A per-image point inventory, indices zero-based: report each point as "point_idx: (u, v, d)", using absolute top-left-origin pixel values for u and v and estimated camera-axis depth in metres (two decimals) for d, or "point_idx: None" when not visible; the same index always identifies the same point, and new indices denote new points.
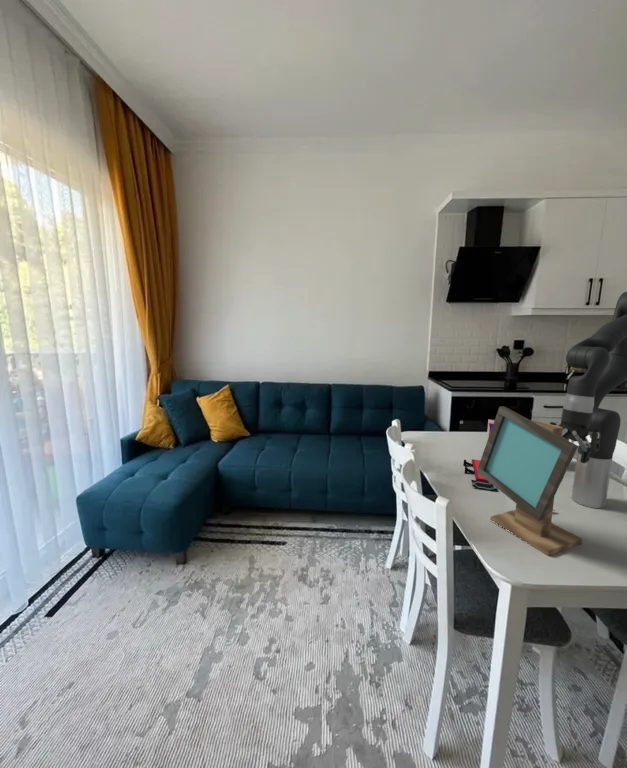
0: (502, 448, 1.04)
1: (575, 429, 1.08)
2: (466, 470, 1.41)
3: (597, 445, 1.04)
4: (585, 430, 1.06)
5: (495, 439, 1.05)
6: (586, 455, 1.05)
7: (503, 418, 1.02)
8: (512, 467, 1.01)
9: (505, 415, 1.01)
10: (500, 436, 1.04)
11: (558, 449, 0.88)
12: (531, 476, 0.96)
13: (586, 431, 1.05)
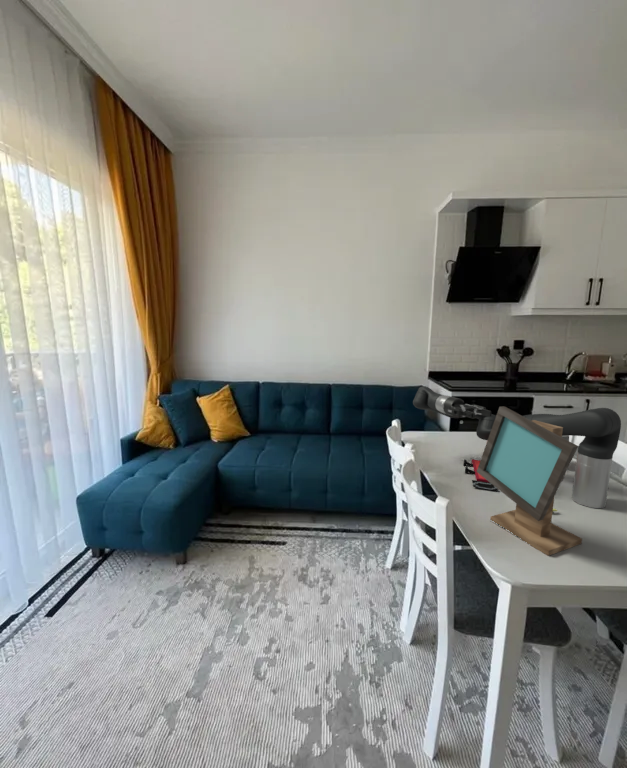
0: (502, 448, 1.04)
1: (463, 405, 1.35)
2: (466, 470, 1.41)
3: None
4: None
5: (495, 439, 1.05)
6: None
7: (503, 418, 1.02)
8: (512, 467, 1.01)
9: (505, 415, 1.01)
10: (500, 436, 1.04)
11: (558, 449, 0.88)
12: (531, 476, 0.96)
13: None
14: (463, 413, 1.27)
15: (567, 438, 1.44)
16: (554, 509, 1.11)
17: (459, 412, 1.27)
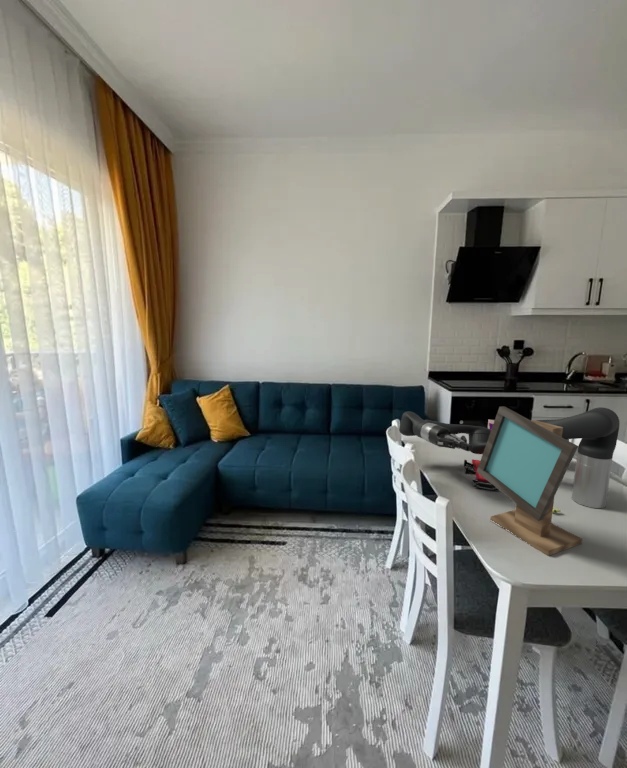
0: (502, 448, 1.04)
1: (449, 435, 1.27)
2: (467, 470, 1.41)
3: None
4: (455, 435, 1.28)
5: (495, 439, 1.05)
6: None
7: (503, 418, 1.02)
8: (512, 467, 1.01)
9: (505, 415, 1.01)
10: (500, 436, 1.04)
11: (558, 449, 0.88)
12: (531, 476, 0.96)
13: (456, 436, 1.28)
14: (458, 445, 1.20)
15: None
16: (557, 509, 1.11)
17: (453, 444, 1.20)
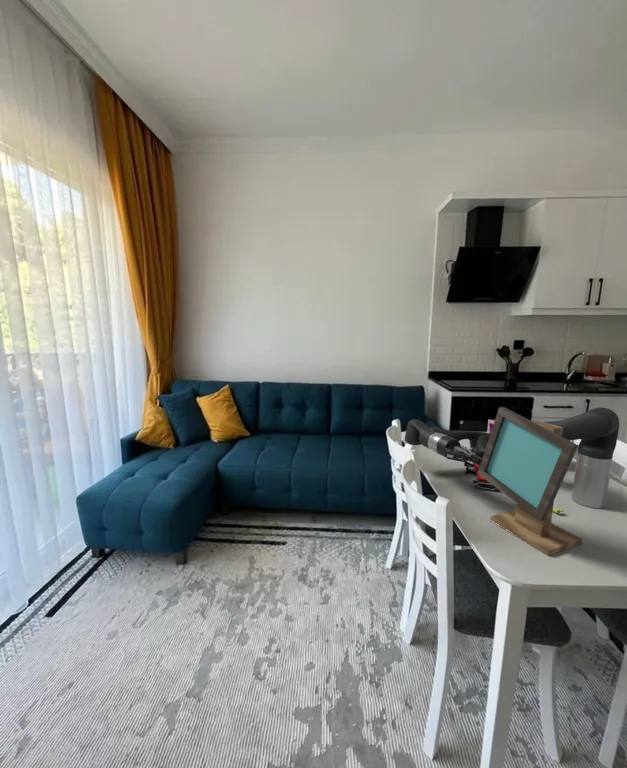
0: (503, 449, 1.03)
1: (459, 447, 1.21)
2: (467, 470, 1.41)
3: None
4: (465, 447, 1.22)
5: (495, 440, 1.05)
6: None
7: (503, 419, 1.02)
8: (513, 467, 1.01)
9: (505, 416, 1.01)
10: (500, 436, 1.04)
11: (558, 449, 0.88)
12: (532, 476, 0.95)
13: (466, 447, 1.21)
14: (469, 458, 1.13)
15: None
16: (560, 510, 1.11)
17: (464, 457, 1.13)
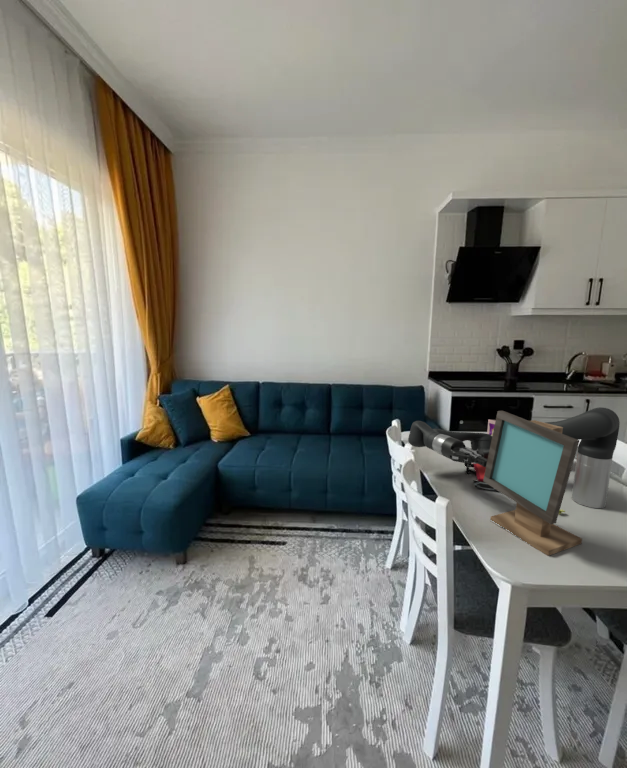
0: (506, 453, 1.03)
1: (464, 449, 1.19)
2: (468, 470, 1.41)
3: None
4: (470, 448, 1.20)
5: (497, 445, 1.04)
6: None
7: (503, 422, 1.02)
8: (518, 471, 0.99)
9: (504, 419, 1.01)
10: (502, 441, 1.04)
11: (560, 446, 0.88)
12: (537, 478, 0.94)
13: (471, 449, 1.19)
14: (474, 460, 1.11)
15: None
16: (562, 510, 1.11)
17: (470, 459, 1.12)
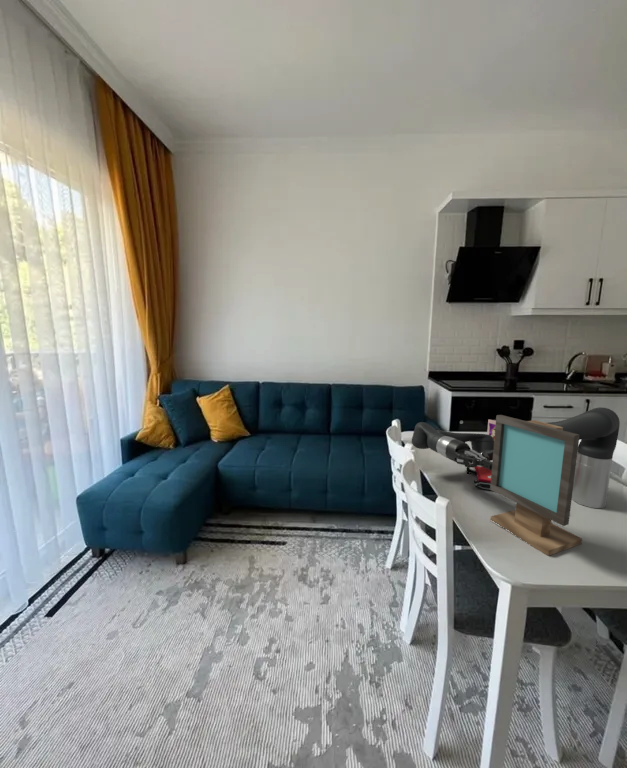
0: (509, 457, 1.02)
1: (469, 451, 1.17)
2: (468, 471, 1.41)
3: None
4: (475, 451, 1.18)
5: (500, 449, 1.04)
6: None
7: (503, 426, 1.02)
8: (523, 474, 0.98)
9: (503, 422, 1.01)
10: (504, 445, 1.03)
11: (562, 442, 0.87)
12: (543, 479, 0.92)
13: (476, 451, 1.17)
14: (480, 463, 1.09)
15: None
16: None
17: (475, 461, 1.10)
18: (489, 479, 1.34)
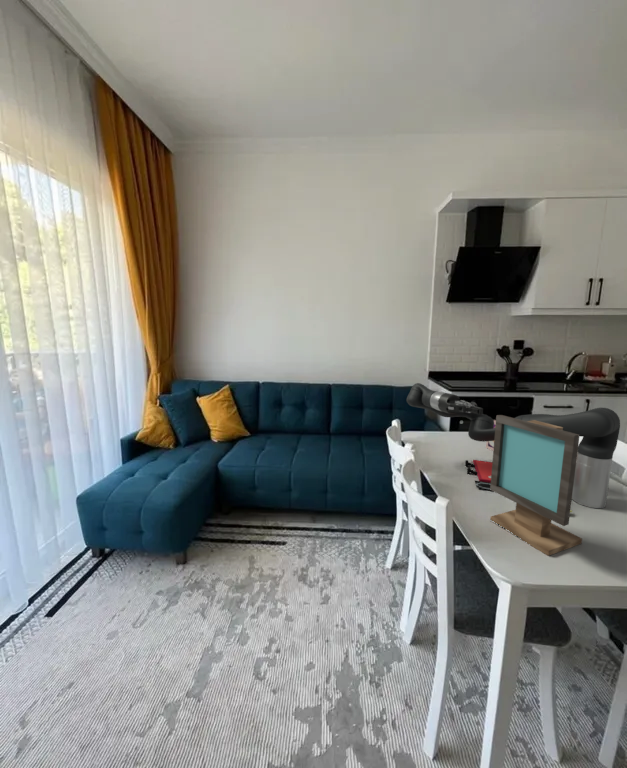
0: (509, 457, 1.02)
1: None
2: (469, 471, 1.41)
3: None
4: None
5: (500, 450, 1.04)
6: None
7: (503, 426, 1.02)
8: (523, 474, 0.98)
9: (503, 422, 1.01)
10: (504, 445, 1.03)
11: (562, 442, 0.87)
12: (543, 479, 0.92)
13: None
14: (468, 409, 1.22)
15: None
16: None
17: (464, 408, 1.22)
18: (490, 479, 1.34)
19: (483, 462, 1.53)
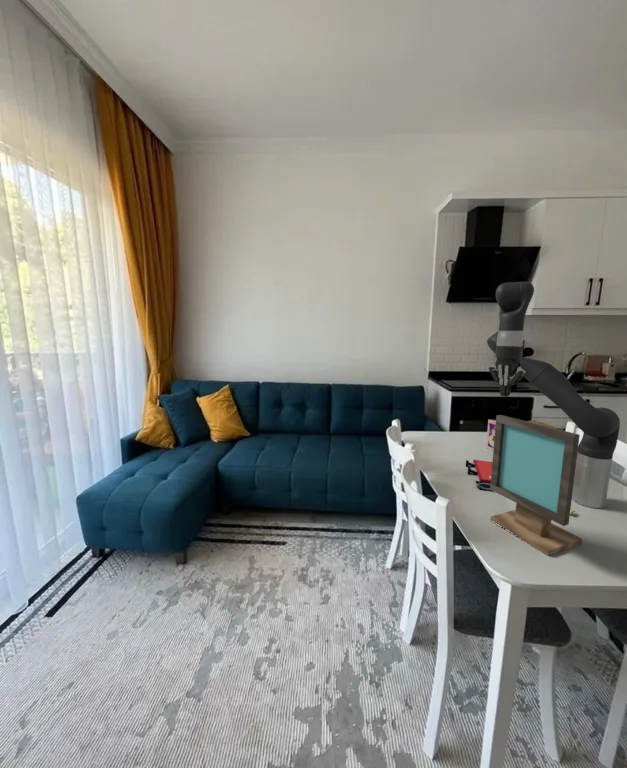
0: (509, 457, 1.02)
1: None
2: (469, 471, 1.41)
3: None
4: None
5: (500, 450, 1.04)
6: None
7: (503, 426, 1.02)
8: (523, 474, 0.98)
9: (503, 422, 1.01)
10: (504, 445, 1.03)
11: (562, 442, 0.87)
12: (543, 479, 0.92)
13: None
14: (510, 385, 1.13)
15: None
16: (572, 510, 1.11)
17: (514, 383, 1.12)
18: (490, 479, 1.34)
19: (483, 461, 1.52)
